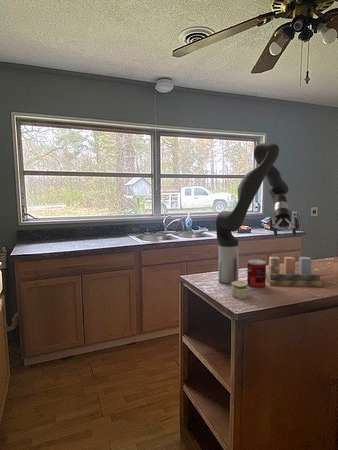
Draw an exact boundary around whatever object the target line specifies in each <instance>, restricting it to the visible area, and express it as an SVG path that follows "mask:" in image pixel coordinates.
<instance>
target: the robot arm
mask: <svg viewBox="0 0 338 450" xmlns="http://www.w3.org/2000/svg"><path fill="white" fill-rule="evenodd" d="M279 153H280V147H279V145H278V144H276V143H266V142H265V143H264V142H263V143H262V142H261V143H257V144H256V145H255V147H254V149H253V157H254V160H255V161H256V163H257V164H258V165H257V166H255V168H253V169H251V170H250V171H248V172H247V173H246V174H245V175H244V176H243V177H242V179H241V181H240V183H239V184H238V186H237V202H236V205H235V206H234V208H233V209H232V211H229V210H227V211H226V210H225V211H224V210H222V211H220V212H219V213H218V214H217V216H216V219H215V230H216V232H215V233H216V239H217V243H218V260H217V261H218V265H217V267H218V283H224V284H231V282H234V281H239V240H238V238H237V237H236V236H234V235H233V233H232V232H237V231H238V230H239V229H241V227H242V225H243V223H244V221H245V218H246V215H247V213H248V211H249V208H250V206H251V204H252V202H253V200H254V199H255V196H256V195H257V193H258V191H259V189H260V187H261V185H262V183H263V181H264V179H265V178H266V179H267V181H268V185H269V187H268V193H269V195H270V196H271V198H272V200H273V201H272V202H273V212H274V218H275V219H272V218H269V231H273V235H274V236H275V237H278V229H279V228H288V229H290V230H291V233H292V237H295V236H296V234H297V231H296V230H299V228H300V225H299V222H298V218H297V217H295V218H294V219H293V218H291V214H290V209H289V205H288V199H287V196H286V195H287V194H288V192H289V186H288V184H287V183H286V182H285V181H284V180H283V178H282V176H281V173H280V171H279V169H278V168H277V167H276V166H274V164H275V162H276V161H277V159H278V156H279ZM274 223H275V225H273V224H274Z"/></svg>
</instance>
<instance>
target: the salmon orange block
mask: <svg viewBox="0 0 338 450" xmlns="http://www.w3.org/2000/svg"><path fill="white" fill-rule="evenodd" d="M283 272H284V274H295V272H296V258H295V257H294V256H284V257H283Z"/></svg>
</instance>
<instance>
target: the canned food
mask: <svg viewBox="0 0 338 450" xmlns="http://www.w3.org/2000/svg"><path fill="white" fill-rule="evenodd" d="M246 263H247V270H246V273H247V279H246V280H247V281H246V282H247V283H246V284H247V286H249V287H250V288H255V289H262V288H265V287H266V281H267V280H266V272H267V262H266V260H265V261H264V260H262V259H249V260H247V261H246Z"/></svg>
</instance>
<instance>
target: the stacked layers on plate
mask: <svg viewBox="0 0 338 450" xmlns="http://www.w3.org/2000/svg"><path fill="white" fill-rule="evenodd" d="M230 284H231V285H230V288H231V290H230V293H231V296H232V297H235V298H237V299H239V300H243V299H247V298H248V297H247V296H248V292H247V290H248V287H247V286H248V283H246V282H245V281H243V280H238V281H234V282H231V283H230Z"/></svg>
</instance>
